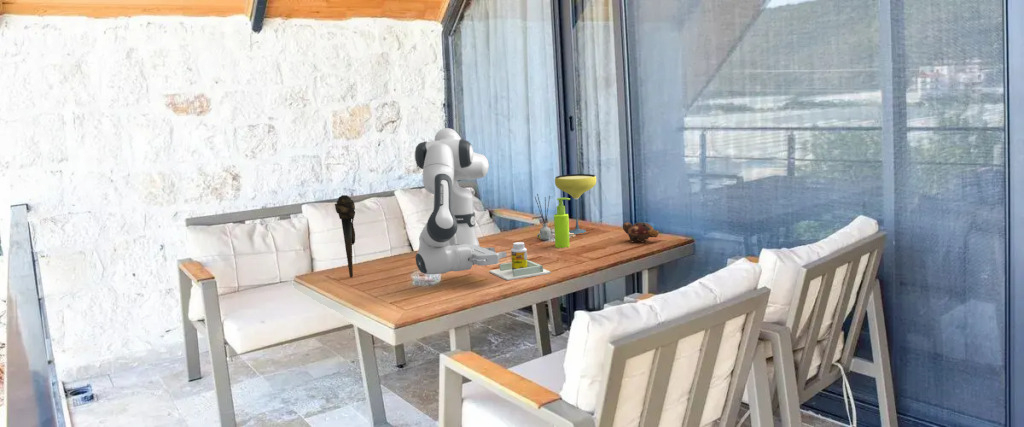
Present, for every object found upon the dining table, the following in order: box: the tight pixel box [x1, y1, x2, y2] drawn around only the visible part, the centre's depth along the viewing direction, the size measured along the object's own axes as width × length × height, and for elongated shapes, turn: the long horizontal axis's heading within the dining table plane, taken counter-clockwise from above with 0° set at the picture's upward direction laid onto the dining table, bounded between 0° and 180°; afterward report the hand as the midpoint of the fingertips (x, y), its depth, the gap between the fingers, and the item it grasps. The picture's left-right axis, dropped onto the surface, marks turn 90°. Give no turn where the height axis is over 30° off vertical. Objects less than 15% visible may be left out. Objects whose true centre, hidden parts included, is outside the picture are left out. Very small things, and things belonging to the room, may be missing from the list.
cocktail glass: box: [554, 173, 597, 234], centre depth 353 cm, size 18×18×25 cm
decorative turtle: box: [622, 221, 659, 242], centre depth 329 cm, size 10×15×8 cm, turn 64°
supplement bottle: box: [510, 241, 528, 271], centre depth 284 cm, size 6×6×10 cm
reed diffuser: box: [534, 193, 552, 240], centre depth 341 cm, size 10×7×20 cm
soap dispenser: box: [553, 197, 571, 249], centre depth 325 cm, size 6×7×20 cm
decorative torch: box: [334, 194, 356, 278], centre depth 289 cm, size 7×7×30 cm
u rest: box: [488, 259, 552, 281], centre depth 285 cm, size 17×15×3 cm
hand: (499, 252), depth 280 cm, fingers open, 8 cm apart
